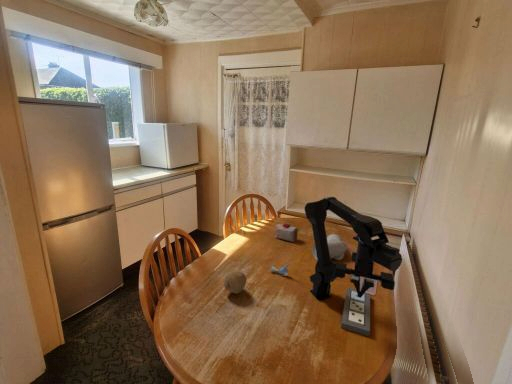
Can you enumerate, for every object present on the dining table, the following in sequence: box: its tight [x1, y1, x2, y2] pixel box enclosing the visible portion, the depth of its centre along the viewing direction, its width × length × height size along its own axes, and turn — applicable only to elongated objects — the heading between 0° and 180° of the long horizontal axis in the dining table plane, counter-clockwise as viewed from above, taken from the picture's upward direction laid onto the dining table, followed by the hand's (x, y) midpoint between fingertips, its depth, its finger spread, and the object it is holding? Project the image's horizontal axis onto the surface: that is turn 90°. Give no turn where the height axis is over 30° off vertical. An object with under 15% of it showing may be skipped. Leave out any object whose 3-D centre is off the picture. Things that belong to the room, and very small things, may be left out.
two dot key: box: [347, 311, 364, 326], centre depth 91 cm, size 5×5×2 cm
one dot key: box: [350, 291, 365, 303], centre depth 103 cm, size 5×5×2 cm
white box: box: [274, 222, 299, 243], centre depth 156 cm, size 14×8×10 cm, turn 60°
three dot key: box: [349, 300, 364, 314], centre depth 97 cm, size 5×5×2 cm
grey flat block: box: [340, 287, 371, 337], centre depth 97 cm, size 22×9×2 cm, turn 157°
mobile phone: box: [360, 277, 378, 296], centre depth 115 cm, size 8×1×15 cm
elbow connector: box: [311, 233, 347, 261], centre depth 138 cm, size 18×11×20 cm
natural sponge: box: [223, 269, 247, 295], centre depth 105 cm, size 9×9×10 cm
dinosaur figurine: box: [269, 259, 293, 277], centre depth 118 cm, size 2×13×8 cm
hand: (359, 296), depth 89 cm, fingers closed
